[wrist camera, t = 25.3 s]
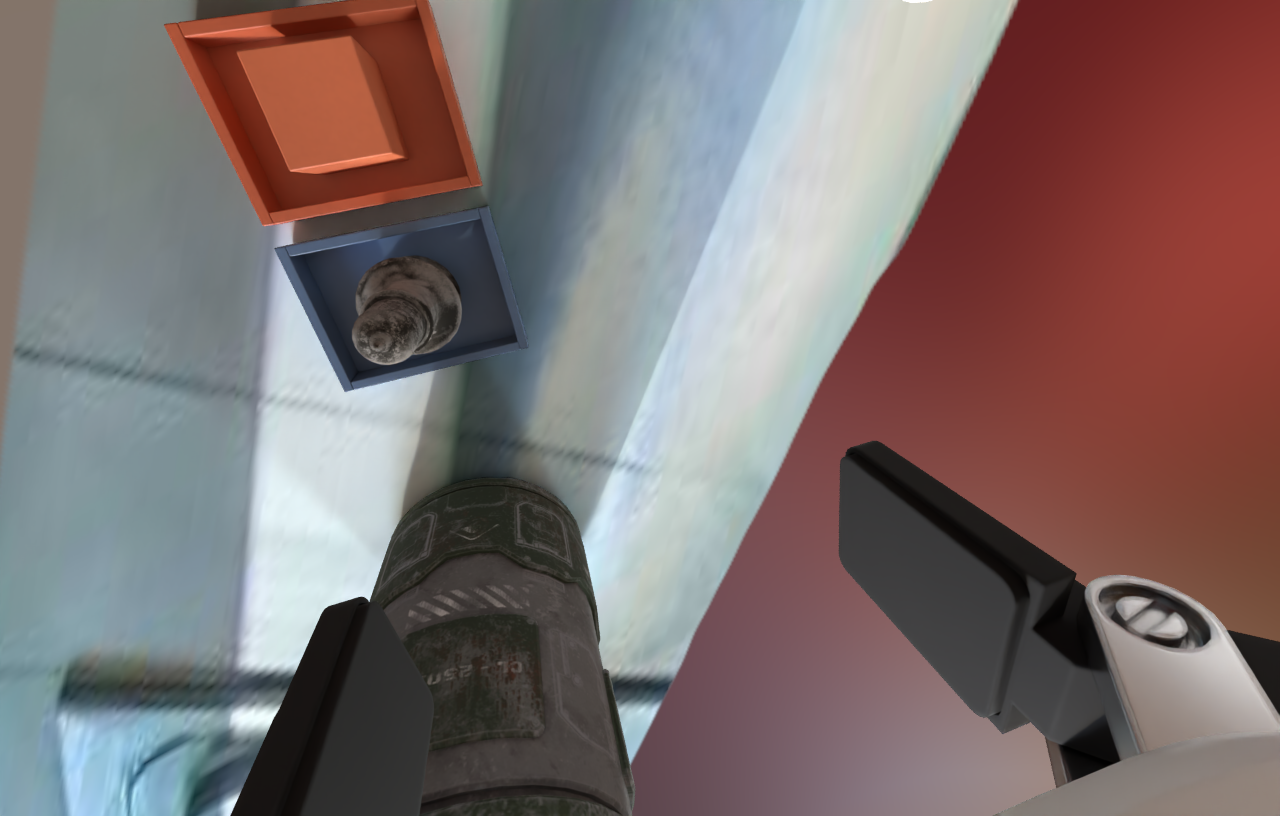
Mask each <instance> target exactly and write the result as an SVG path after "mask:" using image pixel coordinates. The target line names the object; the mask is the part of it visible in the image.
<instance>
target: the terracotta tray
mask: <svg viewBox="0 0 1280 816" xmlns="http://www.w3.org/2000/svg"><path fill="white" fill-rule="evenodd" d="M164 26H165V28H166V30H167V32H168V34H169V36H170V38H171V40H172V42H173V44H174V46H175V48H176V50H177V52H178V54H179V56H180V59H181V61H182V63H183V65H184V67H185V69H186V71H187V73H188V75H189V77H190V79H191V81H192V83H193V85H194V87H195V89H196V91H197V93H198V95H199V97H200V99H201V101H202V103H203V105H204V107H205V109H206V111H207V113H208V115H209V117H210V119H211V121H212V123H213V125H214V127H215V130H216V132H217V134H218V136H219V138H220V140H221V142H222V144H223V146H224V148H225V150H226V152H227V154H228V156H229V158H230V160H231V162H232V164H233V166H234V168H235V170H236V172H237V174H238V176H239V178H240V180H241V182H242V184H243V186H244V188H245V190H246V192H247V194H248V196H249V198H250V201H251V203H252V205H253V207H254V209H255V211H256V213H257V215H258V217H259V219H260V221H261V223H262V225H263V226H269V225H276V224H283V223H288V222H293V221H299V220H304V219H309V218H315V217H320V216H325V215H330V214H336V213H341V212H346V211H351V210H357V209H362V208H367V207H372V206H378V205H383V204H388V203H393V202H399V201H404V200H409V199H414V198H420V197H425V196H430V195H435V194H441V193H446V192H451V191H456V190H462V189H467V188H472V187H478V186H482V185H483V184H482V180H481V177H480V173H479V170H478V166H477V163H476V159H475V156H474V153H473V149H472V146H471V142H470V139H469V135H468V132H467V128H466V125H465V122H464V118H463V115H462V111H461V108H460V104H459V101H458V97H457V94H456V90H455V87H454V84H453V80H452V77H451V73H450V70H449V66H448V63H447V59H446V56H445V53H444V49H443V46H442V42H441V39H440V35H439V32H438V28H437V25H436V22H435V18H434V15H433V11H432V8H431V5H430V3H429V1H428V0H348V1H340V2H332V3H325V4H317V5H309V6H301V7H293V8H286V9H278V10H270V11H262V12H255V13H247V14H239V15H231V16H224V17H216V18H208V19H200V20H192V21H185V22H179V23H169V24H164ZM345 35H351V36H352V37H353V38H354V39H355V40H356V41H357V42H358V43H359V44H360V45H361V46H362V47H363V48H364V49H365V50H366V51H367V52H368V53H369V54H370V55H371V56H372V57H373V58H374V59H375V60H376V62H377V64H378V67H379V70H380V73H381V76H382V79H383V82H384V85H385V87H386V90H387V93H388V96H389V99H390V102H391V105H392V108H393V111H394V114H395V116H396V119H397V122H398V125H399V128H400V131H401V134H402V137H403V140H404V143H405V146H406V148H407V151H408V154H409V157H410V159H409V160H405V161H400V162H394V163H389V164H383V165H377V166H372V167H366V168H360V169H355V170H349V171H344V172H338V173H332V174H327V175H321V174H311V173H301V172H292V171H290V170H289V168H288V166H287V164H286V162H285V159H284V157H283V155H282V153H281V150H280V148H279V146H278V144H277V141H276V139H275V137H274V135H273V133H272V130H271V128H270V126H269V124H268V121H267V119H266V117H265V115H264V112H263V110H262V108H261V106H260V104H259V101H258V99H257V97H256V95H255V92H254V90H253V88H252V86H251V83H250V81H249V79H248V77H247V75H246V72H245V70H244V68H243V66H242V63H241V61H240V59H239V57H238V54H237V51H238V50H244V49H252V48H259V47H266V46H273V45H280V44H288V43H295V42H302V41H309V40H316V39H324V38H331V37H338V36H345Z"/></svg>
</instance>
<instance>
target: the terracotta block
mask: <svg viewBox="0 0 1280 816" xmlns="http://www.w3.org/2000/svg"><path fill="white" fill-rule="evenodd" d="M237 54H238V57H239V59H240V61H241V63H242V66H243V68H244V70H245V72H246V75H247V77H248V79H249V81H250V83H251V86H252V88H253V90H254V92H255V95H256V97H257V99H258V101H259V104H260V106H261V108H262V110H263V112H264V115H265V117H266V119H267V121H268V124H269V126H270V128H271V130H272V133H273V135H274V137H275V139H276V141H277V144H278V146H279V148H280V150H281V153H282V155H283V157H284V159H285V162H286V164H287V166H288V168H289V170H290V171H292V172H301V173H311V174H321V175H327V174H332V173H338V172H344V171H349V170H355V169H360V168H366V167H372V166H377V165H383V164H389V163H394V162H400V161H405V160H409V159H410V157H409V154H408V151H407V148H406V146H405V143H404V140H403V137H402V134H401V131H400V128H399V125H398V122H397V119H396V116H395V114H394V111H393V108H392V105H391V102H390V99H389V96H388V93H387V90H386V87H385V85H384V82H383V79H382V76H381V73H380V70H379V67H378V64H377V62H376V60H375V59H374V58H373V57H372V56H371V55H370V54H369V53H368V52H367V51H366V50H365V49H364V48H363V47H362V46H361V45H360V44H359V43H358V42H357V41H356V40H355V39H354V38H353V37H352V36H351V35H345V36H338V37H331V38H324V39H316V40H309V41H302V42H295V43H288V44H280V45H273V46H266V47H259V48H252V49H244V50H238V51H237Z"/></svg>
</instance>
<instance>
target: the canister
mask: <svg viewBox="0 0 1280 816" xmlns="http://www.w3.org/2000/svg"><path fill="white" fill-rule="evenodd" d="M373 601H376V602H378V603H379V604H380V605H381V607H382V609H383V610H384V612H385V614H386V616H387V617H388V619H389V621H390V622H391V624H392V626H393V628H394V629H395V631H396V633H397V634H398V636H399V638H400V640H401V641H402V643H403V645H404V646H405V648H406V650H407V652H408V653H409V655H410V657H411V658H412V660H413V662H414V663H415V665H416V667H417V669H418V670H419V672H420V674H421V675H422V677H423V679H424V681H425V682H426V684H427V686H428V687H429V689H430V691H431V693H432V697H433V702H434V715H433V722H432V729H431V736H430V743H429V750H428V757H427V764H426V771H425V778H424V785H423V792H422V799H421V807H420V814H419V816H632V809H633V806H634V797H635V786H634V781H633V777H632V772H631V767H630V763H629V758H628V754H627V749H626V745H625V740H624V736H623V731H622V727H621V722H620V718H619V713H618V709H617V704H616V700H615V695H614V691H613V686H612V682H611V678H610V674H609V671H608V670H606V669H604V670H603V666H602V661H601V656H600V651H599V642H600V632H599V623H598V613H597V606H596V601H595V597H594V592H593V587H592V583H591V578H590V573H589V569H588V564H587V559H586V554H585V550H584V546H583V542H582V539H581V534H580V531H579V528H578V526H577V523H576V520H575V519H574V517H573V516H572V514H571V513H570V511H569V510H568V508H567V507H566V506H565V505H564V504H563V503H562V502H561V501H560V500H559V499H558V498H557V497H556V496H554V495H552V494H551V493H549V492H547V491H546V490H544V489H543V488H541V487H539V486H536V485H534V484H531V483H528V482H526V481H523V480H518V479H512V478H480V479H474V480H467V481H462V482H459V483H456V484H453V485H450V486H446V487H444V488H442V489H440V490H438V491H436V492H434V493H432V494H430V495H428V496H427V497H425V498H424V499H423V500H421V501H420V502H419V503H418V504H416V505H415V506H414V507H412V508H411V509H410V510H409V511H408V512H407V514H406V515H405V516H404V517H403V518H402V519H401V520H400V522H399V524H398V525H397V527H396V529H395V531H394V533H393V535H392V537H391V541H390V543H389V546H388V549H387V552H386V555H385V558H384V560H383V563H382V566H381V569H380V572H379V575H378V578H377V581H376V584H375V587H374V590H373V593H372V596H371V599H370V602H373Z"/></svg>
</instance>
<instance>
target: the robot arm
mask: <svg viewBox="0 0 1280 816" xmlns="http://www.w3.org/2000/svg"><path fill="white" fill-rule="evenodd" d="M903 1H907V2H927V1H931V0H903ZM839 508H840V510H839V513H840V514H839V557H840V560H841V562H842V565H843V566H844V568H845V569H846V571H847V572H848V573H849V574H850V575H851V576H852V577H853V579H854V580H855V581H856V582H857V583H858V584H859V585H860V586H861V588H862V589H863V590H864V591H865V592H866V593H867V594H868V595H869V596H870V598H871V599H872V600H873V601H874V602H875V603H876V604H877V605H878V606H879V607H880V609H881V610H882V611H883V612H884V613H885V614H886V615H887V617H889V619H890V620H891V621H892V622H893V623H894V624H895V625H896V627H897V628H898V629H899V630H900V631H901V632H902V633H903V634H904V635H905V636H906V638H907V639H908V640H909V641H910V642H911V643H912V644H913V646H914V647H915V648H916V649H917V650H918V651H919V652H920V653H921V654H922V655H923V657H924V658H925V659H926V660H927V661H928V662H929V663H930V664H931V666H933V668H934V669H935V670H936V671H937V672H938V673H939V674H940V676H941V677H942V678H943V679H944V680H945V681H946V682H947V683H948V685H949V686H951V688H952V689H953V690H954V691H955V692H956V693H957V695H958V696H959V697H960V698H961V699H962V700H963V701H964V702H965V703H966V704H967V706H968V707H969V708H970V709H971V710H972V711H973V712H974V713H975V714H977V715H978V716H980V717H983V718H985V717H987V718H988V719H990V721H991V722H992V723H993V724H994V725H995V726H996V727H997V728H998V730H999V731H1000V732H1001V733H1002V734H1004V733H1007V732H1009V731H1011V730H1013V729H1016V728H1018V727H1021V726H1023V725H1025V724H1028V723H1029V722H1031V723H1032V724H1033V725H1034V726H1035V727H1036V728H1037V729H1038V730H1039V731H1040V732H1041V733H1042V734H1043V735H1044V736H1045V739H1046V743H1047V748H1048V752H1049V757H1050V761H1051V766H1052V770H1053V775H1054V779H1055V784H1056V788H1055V789H1053V790H1050V791H1048V792H1046V793H1043V794H1041V795H1038V796H1036V797H1034V798H1031V799H1029V800H1027V801H1025V802H1022V803H1020V804H1018V805H1016V806H1013V807H1011V808H1009V809H1007V810H1004V811H1002V812H1000V813H998V814H996V815H993V816H1280V642H1278V641H1273V640H1269V639H1264V638H1260V637H1256V636H1251V635H1247V634H1242V633H1238V632H1234V631H1230V630H1226V629H1225V627H1224V626H1223V625H1222V623H1221V622H1220V621H1219V620H1218V619H1217V618H1216V616H1215V615H1214V614H1213V613H1212V612H1211V611H1209V610H1208V609H1206V608H1205V607H1204V606H1202V605H1201V604H1200V603H1199V602H1197V601H1196V600H1194V599H1192V598H1191V597H1189V596H1187V595H1185V594H1183V593H1181V592H1179V591H1178V590H1176V589H1173V588H1170V587H1168V586H1165V585H1163V584H1160V583H1158V582H1155V581H1151V580H1147V579H1143V578H1138V577H1134V576H1122V575H1111V576H1104V577H1099V578H1097V579H1096V580H1093V581H1092V582H1090V583H1089V585H1088V586H1087V588H1086V587H1085V586H1084V585H1082V584H1081V583H1079V582H1078V581H1076V580H1075V577H1076V573H1075V572H1074V571H1072V570H1071V569H1069V568H1068V567H1066V566H1065V565H1063V564H1062V563H1060V562H1059V561H1057V560H1056V559H1054V558H1053V557H1051V556H1050V555H1048V554H1047V553H1045V552H1044V551H1042V550H1041V549H1039V548H1038V547H1036V546H1035V545H1033V544H1032V543H1030V542H1029V541H1027V540H1026V539H1024V538H1023V537H1021V536H1020V535H1018V534H1017V533H1015V532H1014V531H1012V530H1011V529H1009V528H1008V527H1006V526H1005V525H1003V524H1002V523H1000V522H999V521H997V520H996V519H994V518H993V517H991V516H990V515H988V514H987V513H985V512H984V511H983V510H981V509H980V508H978V507H976V506H975V505H973V504H972V503H970V502H969V501H967V500H966V499H965V498H963V497H962V496H960V495H958V494H957V493H956V492H954V491H952V490H951V489H950V488H948V487H947V486H945V485H944V484H942V483H941V482H939V481H938V480H936V479H934V478H933V477H932V476H930V475H929V474H927V473H926V472H924V471H923V470H921V469H920V468H918V467H917V466H915V465H914V464H912V463H911V462H909V461H908V460H906V459H905V458H903V457H902V456H900V455H899V454H897V453H896V452H894V451H893V450H891V449H890V448H888V447H887V446H885V445H884V444H882V443H880V442H878V441H871V442H867V443H864V444H861V445H858V446H854V447H851V448H849V449H848V450H847V452H846V455H845V457H843V458H842V459H841V462H840V507H839ZM433 715H434V702H433V697H432V693H431V691H430V689H429V687H428V686H427V684H426V682H425V681H424V679H423V677H422V675H421V674H420V672H419V670H418V669H417V667H416V665H415V663H414V662H413V660H412V658H411V657H410V655H409V653H408V652H407V650H406V648H405V646H404V645H403V643H402V641H401V640H400V638H399V636H398V634H397V633H396V631H395V629H394V628H393V626H392V624H391V622H390V621H389V619H388V617H387V616H386V614H385V612H384V610H383V609H382V607H381V605H380V604H379V603H378V602H376V601H373V602H369V601H368V600H367V599H366V598H364V597H358V598H354V599H351V600H348V601H345V602H341V603H338V604H335V605H331V606H328V607H327V608H325V609H324V611H323V612H322V614H321V616H320V618H319V621H318V623H317V625H316V628H315V630H314V632H313V634H312V637H311V639H310V641H309V643H308V646H307V648H306V650H305V652H304V655H303V657H302V659H301V661H300V664H299V666H298V668H297V670H296V673H295V675H294V677H293V679H292V682H291V684H290V686H289V688H288V691H287V693H286V695H285V697H284V700H283V702H282V704H281V707H280V709H279V711H278V712H277V714H276V716H275V717H274V719H273V721H272V724H271V726H270V728H269V730H268V733H267V735H266V737H265V739H264V742H263V744H262V746H261V748H260V751H259V753H258V755H257V757H256V760H255V762H254V764H253V766H252V769H251V771H250V773H249V775H248V777H247V780H246V782H245V784H244V786H243V789H242V791H241V793H240V795H239V798H238V800H237V802H236V804H235V807H234V809H233V811H232V813H231V816H419V814H420V807H421V799H422V792H423V785H424V778H425V771H426V764H427V757H428V750H429V743H430V736H431V729H432V722H433Z"/></svg>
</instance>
